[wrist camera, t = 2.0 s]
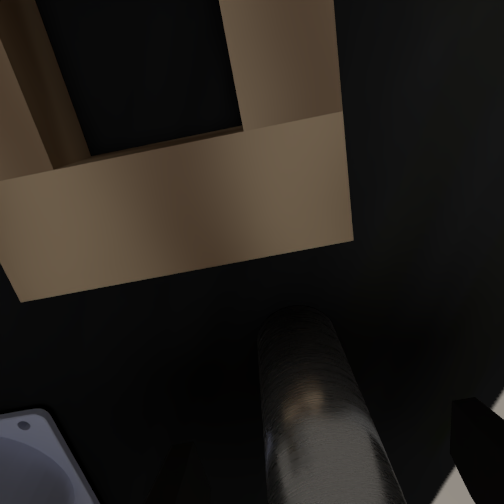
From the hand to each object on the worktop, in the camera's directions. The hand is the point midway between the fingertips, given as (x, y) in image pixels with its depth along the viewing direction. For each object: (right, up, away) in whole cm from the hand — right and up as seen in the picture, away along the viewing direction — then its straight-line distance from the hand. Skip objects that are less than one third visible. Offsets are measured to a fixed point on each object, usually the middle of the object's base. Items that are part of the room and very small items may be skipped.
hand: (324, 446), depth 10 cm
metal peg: (0, +2, +5) cm, 5 cm away
